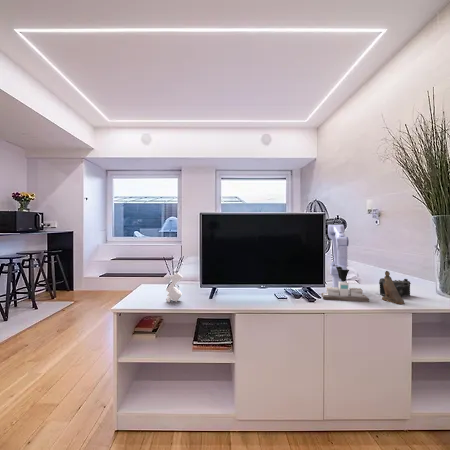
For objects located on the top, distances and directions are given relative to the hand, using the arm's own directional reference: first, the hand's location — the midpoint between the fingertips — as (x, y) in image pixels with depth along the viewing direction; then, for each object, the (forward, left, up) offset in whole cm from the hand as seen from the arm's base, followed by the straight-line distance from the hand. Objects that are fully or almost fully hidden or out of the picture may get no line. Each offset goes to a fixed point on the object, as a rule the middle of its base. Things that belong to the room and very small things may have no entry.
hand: (342, 280), depth 176 cm
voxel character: (+30, -94, -10) cm, 99 cm away
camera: (-5, +31, -10) cm, 33 cm away
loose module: (+6, 0, -7) cm, 10 cm away
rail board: (+6, 0, -9) cm, 11 cm away
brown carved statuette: (+8, +25, -10) cm, 28 cm away
